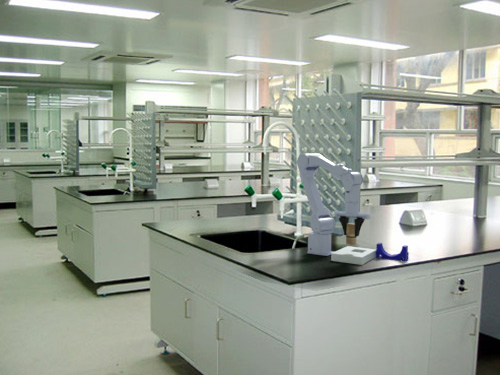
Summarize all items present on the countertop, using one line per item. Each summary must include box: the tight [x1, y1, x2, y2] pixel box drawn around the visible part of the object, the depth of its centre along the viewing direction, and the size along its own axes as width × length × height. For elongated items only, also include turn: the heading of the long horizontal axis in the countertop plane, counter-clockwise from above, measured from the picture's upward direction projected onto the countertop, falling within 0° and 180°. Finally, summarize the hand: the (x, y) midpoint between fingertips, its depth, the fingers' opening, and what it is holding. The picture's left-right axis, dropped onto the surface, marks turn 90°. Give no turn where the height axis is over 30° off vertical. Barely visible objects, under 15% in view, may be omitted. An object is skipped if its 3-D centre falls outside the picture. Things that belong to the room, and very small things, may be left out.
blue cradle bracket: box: [375, 242, 410, 262], centre depth 206 cm, size 12×4×6 cm, turn 59°
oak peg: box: [345, 222, 357, 246], centre depth 202 cm, size 4×4×8 cm
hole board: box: [330, 245, 376, 266], centre depth 206 cm, size 13×17×3 cm
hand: (351, 235), depth 202 cm, fingers closed on oak peg, 4 cm apart
